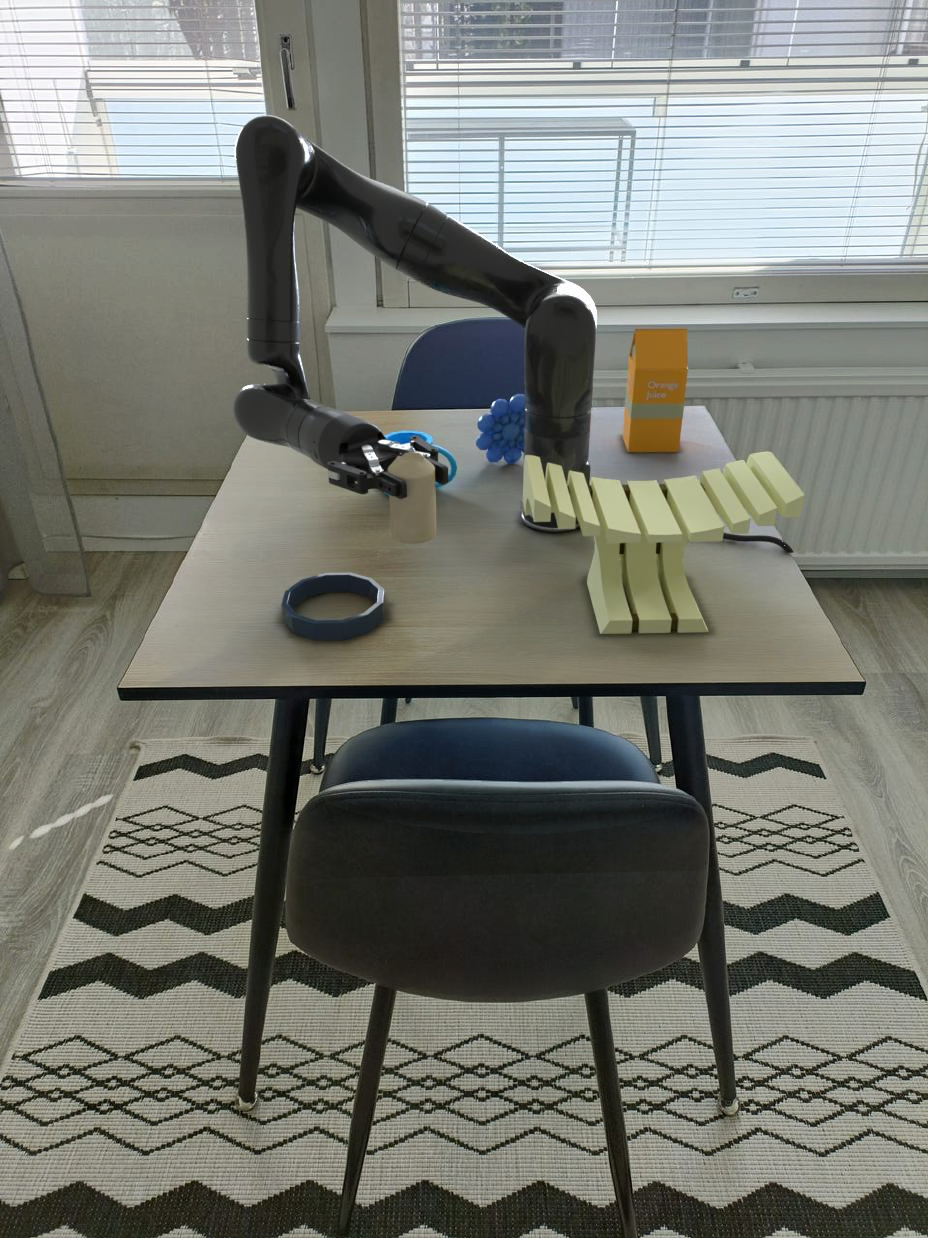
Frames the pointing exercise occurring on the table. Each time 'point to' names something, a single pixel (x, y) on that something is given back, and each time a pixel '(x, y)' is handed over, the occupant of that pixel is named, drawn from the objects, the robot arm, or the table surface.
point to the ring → (333, 627)
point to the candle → (414, 500)
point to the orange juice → (655, 390)
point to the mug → (405, 436)
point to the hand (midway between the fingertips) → (425, 483)
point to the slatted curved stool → (656, 531)
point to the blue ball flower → (503, 430)
